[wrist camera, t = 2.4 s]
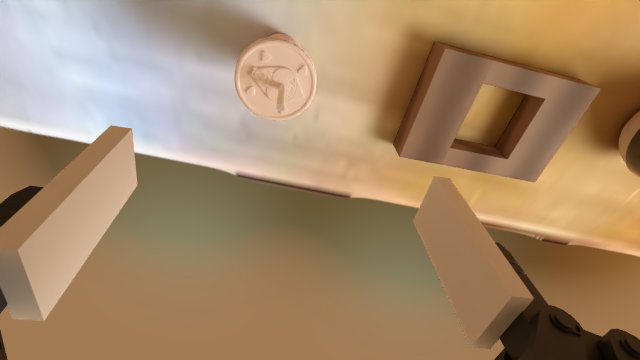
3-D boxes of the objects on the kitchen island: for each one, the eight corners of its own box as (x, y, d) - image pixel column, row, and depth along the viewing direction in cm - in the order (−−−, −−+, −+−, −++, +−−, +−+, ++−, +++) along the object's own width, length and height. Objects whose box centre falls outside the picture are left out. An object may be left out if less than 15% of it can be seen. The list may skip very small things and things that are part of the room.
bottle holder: (393, 144, 40) (399, 156, 38) (434, 41, 34) (445, 48, 32) (521, 169, 44) (534, 182, 41) (580, 80, 37) (601, 88, 35)
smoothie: (295, 94, 36) (295, 159, 25) (238, 66, 34) (209, 123, 23) (323, 38, 33) (338, 82, 22) (263, 4, 31) (244, 33, 20)
